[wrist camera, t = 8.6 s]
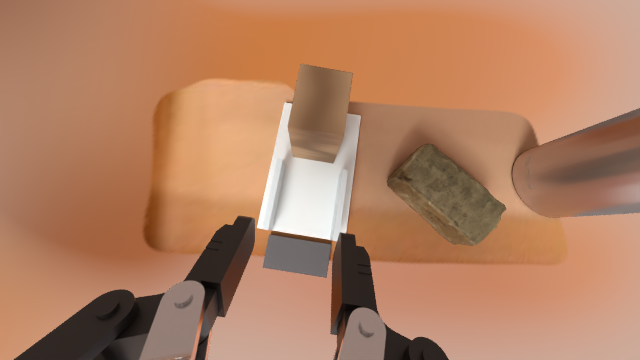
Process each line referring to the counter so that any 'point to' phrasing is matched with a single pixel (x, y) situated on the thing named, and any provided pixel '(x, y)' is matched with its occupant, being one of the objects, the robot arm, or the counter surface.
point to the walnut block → (319, 113)
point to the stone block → (446, 196)
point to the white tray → (307, 201)
